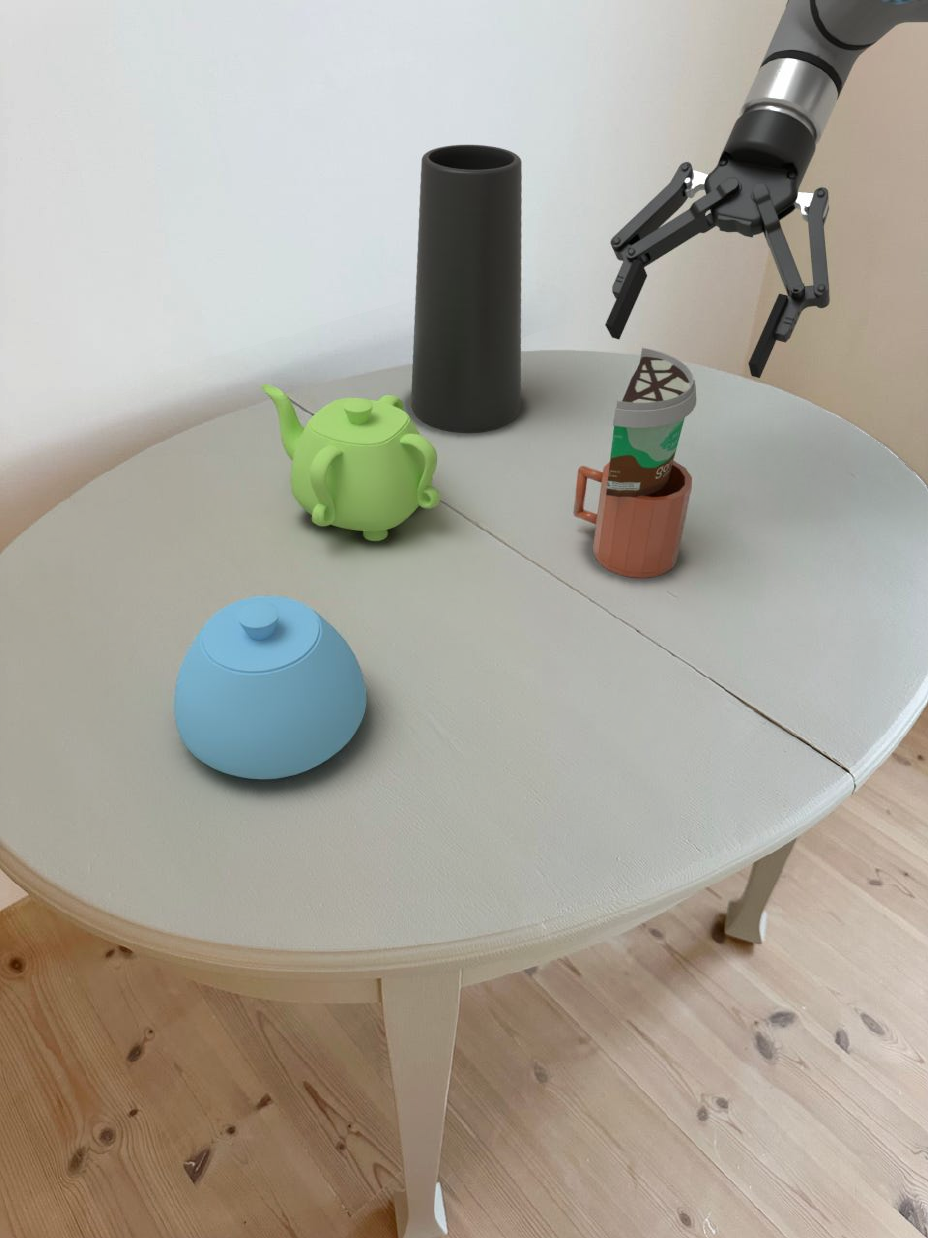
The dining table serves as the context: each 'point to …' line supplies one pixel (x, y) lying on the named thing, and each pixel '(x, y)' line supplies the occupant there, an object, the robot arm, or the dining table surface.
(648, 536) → the mug
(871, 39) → the robot arm
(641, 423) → the food container
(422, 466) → the teapot
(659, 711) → the dining table surface
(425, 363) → the vase
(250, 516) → the dining table surface
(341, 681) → the sugar bowl
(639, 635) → the dining table surface
